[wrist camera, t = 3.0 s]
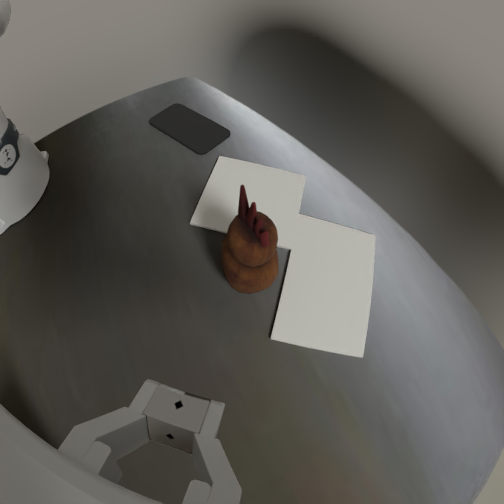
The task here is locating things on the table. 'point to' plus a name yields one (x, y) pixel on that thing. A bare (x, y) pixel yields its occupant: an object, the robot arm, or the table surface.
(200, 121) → the phone
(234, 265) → the wooden figurine
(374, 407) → the table surface
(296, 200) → the mat side
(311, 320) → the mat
